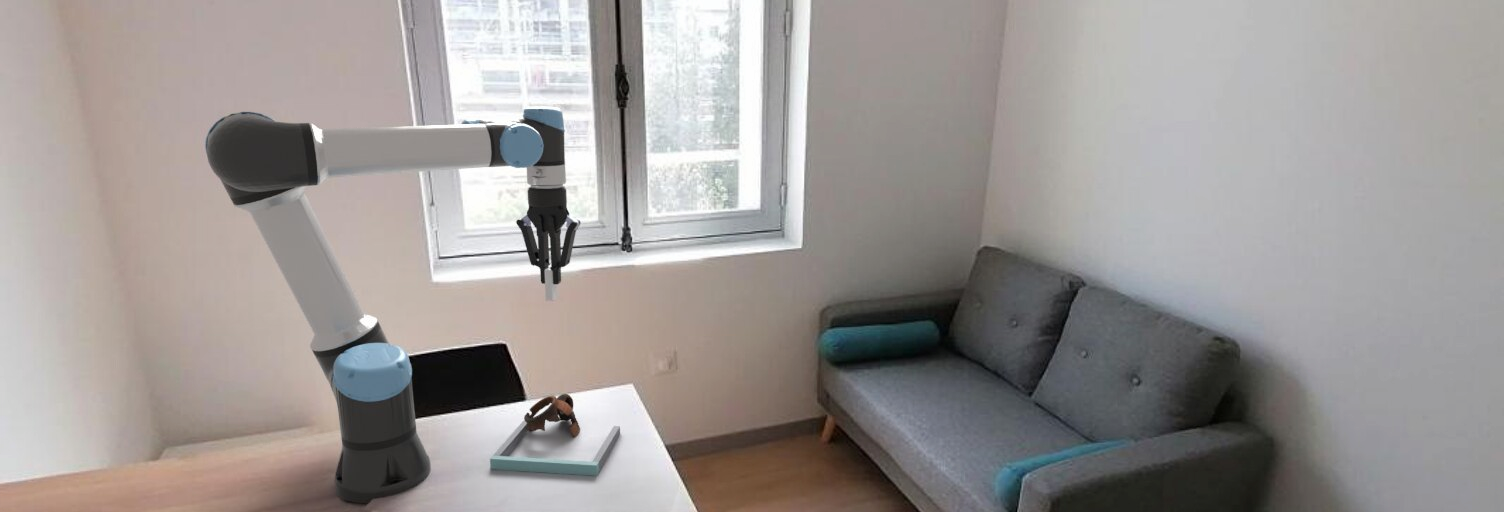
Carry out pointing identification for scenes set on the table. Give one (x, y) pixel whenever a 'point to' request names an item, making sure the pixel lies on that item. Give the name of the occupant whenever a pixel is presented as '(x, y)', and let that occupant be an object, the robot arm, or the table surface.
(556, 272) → the robot arm
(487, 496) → the table surface
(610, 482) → the table surface
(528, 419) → the brown curved openwork piece
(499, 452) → the bay
